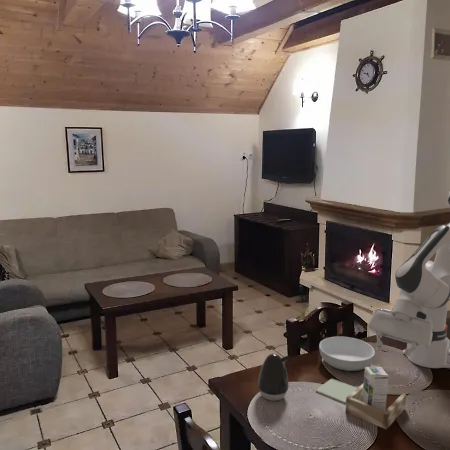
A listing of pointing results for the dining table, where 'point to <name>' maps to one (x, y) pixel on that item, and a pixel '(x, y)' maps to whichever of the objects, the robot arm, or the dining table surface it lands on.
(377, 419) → the holder bay
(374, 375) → the syrup box
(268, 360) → the pump dispenser
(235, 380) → the dining table surface
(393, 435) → the dining table surface
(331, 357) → the serving bowl
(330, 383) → the sage mat
